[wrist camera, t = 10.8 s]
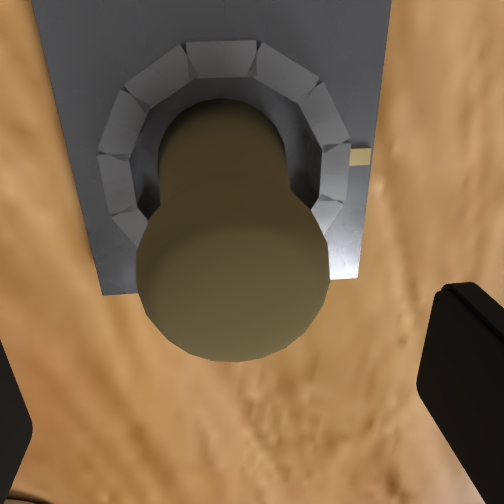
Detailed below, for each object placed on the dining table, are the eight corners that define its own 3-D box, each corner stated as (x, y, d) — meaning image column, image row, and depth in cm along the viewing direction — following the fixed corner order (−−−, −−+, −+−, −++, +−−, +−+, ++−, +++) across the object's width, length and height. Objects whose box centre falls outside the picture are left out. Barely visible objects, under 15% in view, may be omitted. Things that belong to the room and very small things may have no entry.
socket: (108, 280, 23) (91, 324, 20) (41, -12, 17) (-1, -20, 13) (349, 263, 24) (372, 303, 21) (380, -18, 18) (421, -27, 14)
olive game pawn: (312, 149, 19) (415, 274, 10) (238, 244, 21) (263, 424, 12) (203, 67, 17) (198, 126, 8) (133, 182, 19) (60, 340, 10)
